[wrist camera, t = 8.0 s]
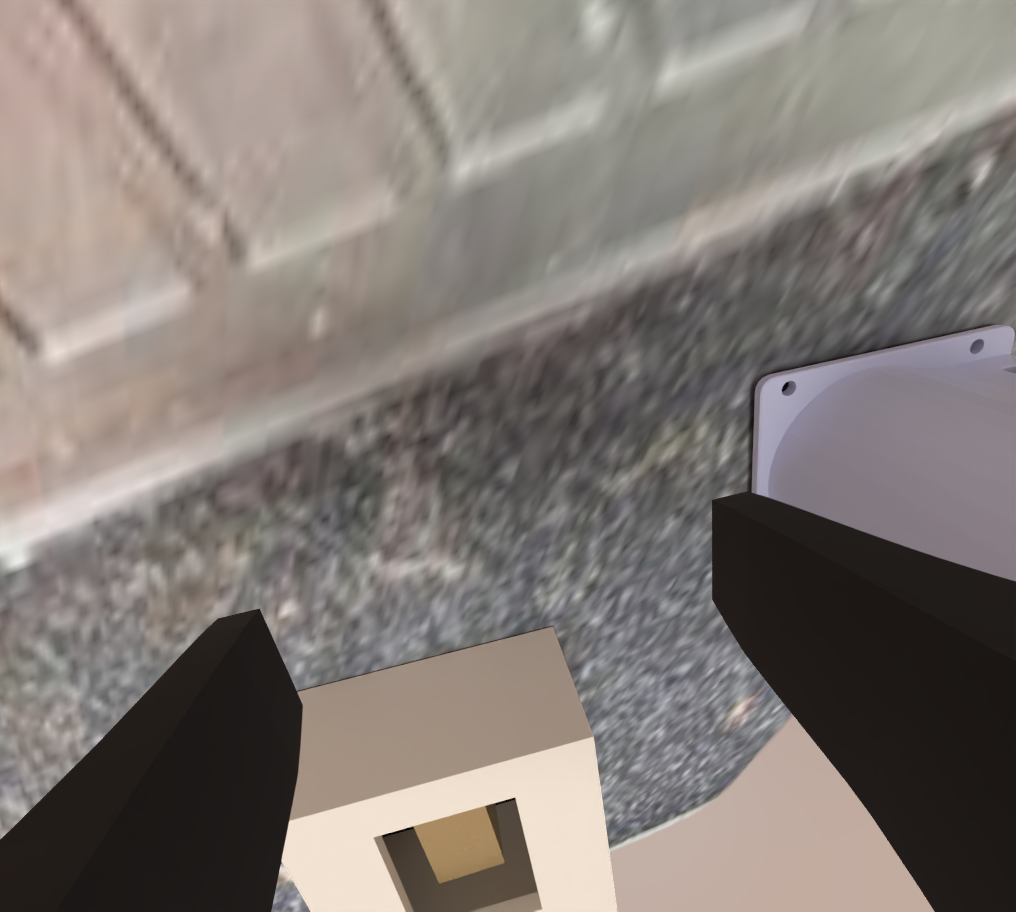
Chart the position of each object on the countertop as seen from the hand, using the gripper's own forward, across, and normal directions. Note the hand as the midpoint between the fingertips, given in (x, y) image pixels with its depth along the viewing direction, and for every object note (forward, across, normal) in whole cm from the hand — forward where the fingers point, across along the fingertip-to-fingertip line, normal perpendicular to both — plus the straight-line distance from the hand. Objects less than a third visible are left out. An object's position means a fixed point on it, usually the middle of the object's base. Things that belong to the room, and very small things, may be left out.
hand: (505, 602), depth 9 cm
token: (+10, +3, +14) cm, 18 cm away
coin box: (+9, +3, +14) cm, 18 cm away
